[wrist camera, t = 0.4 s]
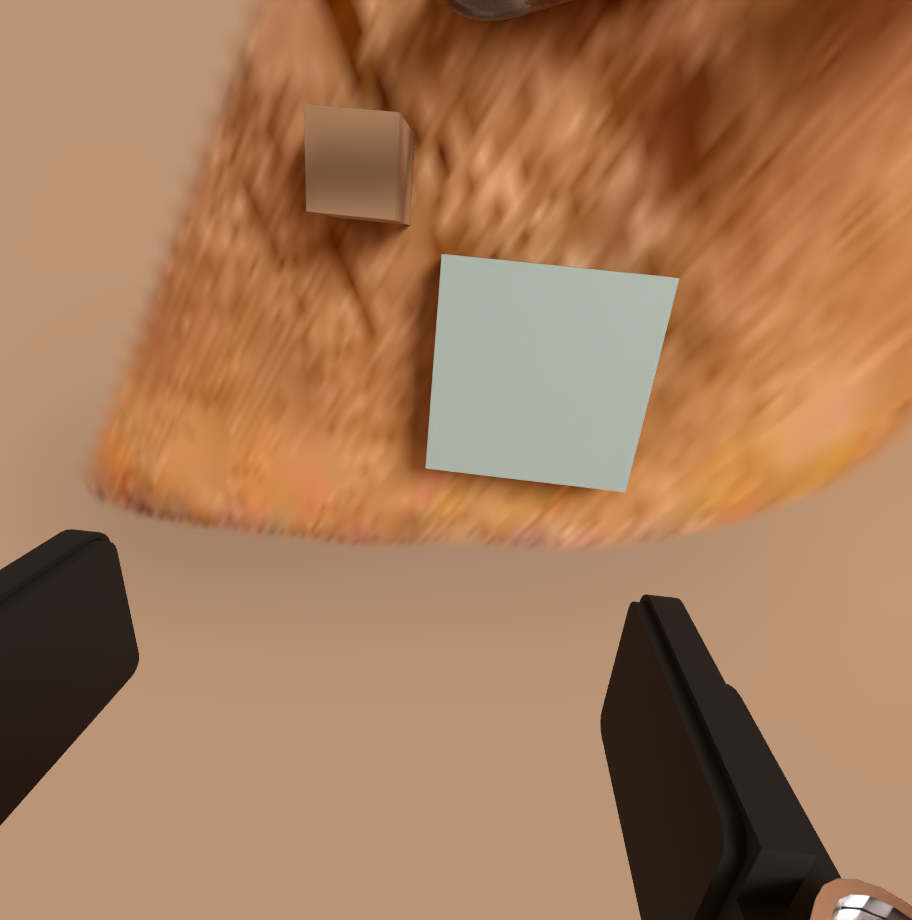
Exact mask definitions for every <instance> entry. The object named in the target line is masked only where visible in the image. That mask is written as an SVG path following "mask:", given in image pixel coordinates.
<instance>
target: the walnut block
mask: <svg viewBox="0 0 912 920" xmlns="http://www.w3.org/2000/svg"><path fill="white" fill-rule="evenodd" d="M304 135H305V180H306V212H311V213H315V214H320V215H324V216H329V217H333V218H343V219H353V220H363V221H373V222H383V223H393V224H403V225H410V218H411V199H412V180H413V161H414V142H415V133H414V132H413V131H412V129H411V128H410V126H409V125H408V124H407V122H406V121H405V119H404V118H403V117H402V115H401V114H400V112H390V111H379V110H368V109H357V108H345V107H334V106H323V105H312V104H304Z"/></svg>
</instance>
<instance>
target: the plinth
mask: <svg viewBox="0 0 912 920" xmlns="http://www.w3.org/2000/svg"><path fill="white" fill-rule="evenodd" d="M678 281H679V278H673V277H665V276H656V275H646V274H636V273H626V272H616V271H606V270H596V269H587V268H577V267H567V266H557V265H547V264H537V263H527V262H518V261H508V260H498V259H488V258H478V257H468V256H458V255H449V254H442V257H441V270H440V284H439V297H438V310H437V323H436V336H435V350H434V363H433V376H432V389H431V402H430V415H429V429H428V442H427V455H426V468H425V469H434V470H442V471H451V472H459V473H468V474H476V475H484V476H493V477H501V478H510V479H518V480H527V481H535V482H543V483H552V484H560V485H569V486H577V487H586V488H594V489H602V490H611V491H619V492H626V488H627V484H628V480H629V476H630V472H631V468H632V464H633V460H634V456H635V452H636V448H637V444H638V440H639V436H640V432H641V428H642V424H643V420H644V417H645V413H646V409H647V405H648V401H649V397H650V393H651V389H652V385H653V381H654V377H655V373H656V369H657V365H658V361H659V357H660V353H661V349H662V345H663V341H664V337H665V333H666V329H667V325H668V321H669V317H670V313H671V309H672V305H673V301H674V297H675V293H676V289H677V285H678Z"/></svg>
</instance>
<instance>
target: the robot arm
mask: <svg viewBox="0 0 912 920" xmlns="http://www.w3.org/2000/svg"><path fill="white" fill-rule="evenodd" d="M138 662H139V653H138V647H137V643H136V638H135V633H134V628H133V624H132V619H131V614H130V610H129V605H128V600H127V595H126V591H125V586H124V581H123V576H122V572H121V567H120V562H119V558H118V553H117V549H116V547H115V545H114V544H113V543H111V542H110V540H109V538H108V537H107V536H106V535H105V534H103V533H99V532H90V531H82V530H72V529H71V530H65V531H63V532H61V533H59V534H57V535H56V536H54V537H52V538H51V539H49V540H48V541H46V542H44V543H43V544H41V545H40V546H38V547H36V548H35V549H33V550H31V551H30V552H28V553H27V554H25V555H23V556H22V557H21V558H19V559H17V560H15V561H14V562H12V563H11V564H9V565H7V566H6V567H4V568H2V569H1V570H0V825H1V824H2V823H3V822H4V821H5V820H6V818H7V817H8V816H9V815H10V814H11V813H12V812H13V810H14V809H15V808H16V807H17V806H18V805H19V804H20V803H21V801H22V800H23V799H24V798H25V797H26V796H27V795H28V793H29V792H30V791H31V790H32V789H33V788H34V786H36V784H37V783H38V782H39V781H40V780H41V779H42V778H43V776H44V775H45V774H46V773H47V772H48V771H49V770H50V769H51V767H52V766H53V765H54V764H55V763H56V762H57V761H58V759H59V758H60V757H61V756H62V755H63V754H64V753H65V752H66V750H67V749H68V748H69V747H70V746H71V745H72V744H73V742H74V741H75V740H76V739H77V738H78V736H79V735H80V734H81V733H82V732H83V731H84V730H85V729H86V728H87V726H88V725H89V724H90V723H91V722H92V721H93V720H94V719H95V717H96V716H97V715H98V714H99V713H100V712H101V711H102V710H103V708H104V707H105V706H106V705H107V704H108V703H109V702H110V700H111V699H112V698H113V697H114V696H115V695H116V694H117V692H118V691H119V690H120V689H121V688H122V687H123V686H124V684H125V683H126V682H127V681H128V680H129V679H130V678H131V677H132V675H133V674H134V672H135V670H136V668H137V665H138ZM601 735H602V740H603V744H604V749H605V754H606V759H607V763H608V767H609V773H610V777H611V782H612V787H613V791H614V796H615V800H616V805H617V810H618V814H619V819H620V824H621V828H622V833H623V837H624V842H625V847H626V851H627V856H628V860H629V865H630V870H631V875H632V879H633V884H634V888H635V893H636V898H637V902H638V907H639V912H640V916H641V920H912V906H911V905H910V904H908V903H907V902H905V901H904V900H902V899H900V898H898V897H897V896H895V895H893V894H892V893H890V892H888V891H886V890H885V889H883V888H881V887H878V886H875V885H872V884H869V883H867V882H864V881H861V880H858V879H842V878H841V877H840V875H839V873H838V871H837V869H836V868H835V866H834V864H833V862H832V860H831V859H830V857H829V855H828V853H827V851H826V850H825V848H824V846H823V844H822V842H821V841H820V839H819V837H818V835H817V833H816V831H815V830H814V828H813V826H812V824H811V823H810V821H809V819H808V817H807V815H806V813H805V812H804V810H803V808H802V806H801V805H800V803H799V801H798V799H797V797H796V795H795V794H794V792H793V790H792V788H791V786H790V785H789V783H788V781H787V779H786V777H785V776H784V774H783V772H782V770H781V768H780V767H779V765H778V763H777V761H776V760H775V758H774V756H773V754H772V752H771V750H770V749H769V747H768V745H767V743H766V741H765V740H764V738H763V736H762V734H761V732H760V730H759V729H758V727H757V725H756V723H755V721H754V720H753V718H752V716H751V714H750V712H749V711H748V709H747V707H746V705H745V704H744V702H743V700H742V698H741V697H740V695H739V694H738V693H737V691H736V690H735V689H734V688H733V687H732V686H730V685H728V684H726V683H725V681H724V680H723V677H722V676H721V674H720V672H719V670H718V668H717V666H716V664H715V663H714V661H713V659H712V657H711V656H710V653H709V651H708V650H707V648H706V646H705V644H704V642H703V640H702V638H701V636H700V635H699V633H698V631H697V629H696V627H695V625H694V623H693V621H692V620H691V618H690V616H689V614H688V612H687V610H686V609H685V607H684V605H683V603H682V602H681V600H680V599H678V598H672V597H663V596H654V595H643V596H642V598H641V600H640V602H632V603H631V604H630V606H629V609H628V612H627V616H626V620H625V624H624V628H623V632H622V635H621V640H620V643H619V647H618V651H617V655H616V659H615V663H614V666H613V670H612V674H611V678H610V682H609V685H608V689H607V693H606V697H605V701H604V705H603V709H602V713H601Z"/></svg>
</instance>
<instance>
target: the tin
mask: <svg viewBox="0 0 912 920" xmlns="http://www.w3.org/2000/svg"><path fill="white" fill-rule="evenodd" d="M444 1H445V3H446V4H447V6H448V7H449V8H450V9H451V10H453V11H454V12H455V13H457V14H459V15H461V16H463V17H466V18H469V19H473V20H479V21H499V20H507V19H511V18H517V17H520V16H524V15H527V14H531V13H534V12H537V11H541V10H544V9H548V8H551V7H554V6H557V5H560V4H564V3H567V2H570V1H574V0H444Z"/></svg>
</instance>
